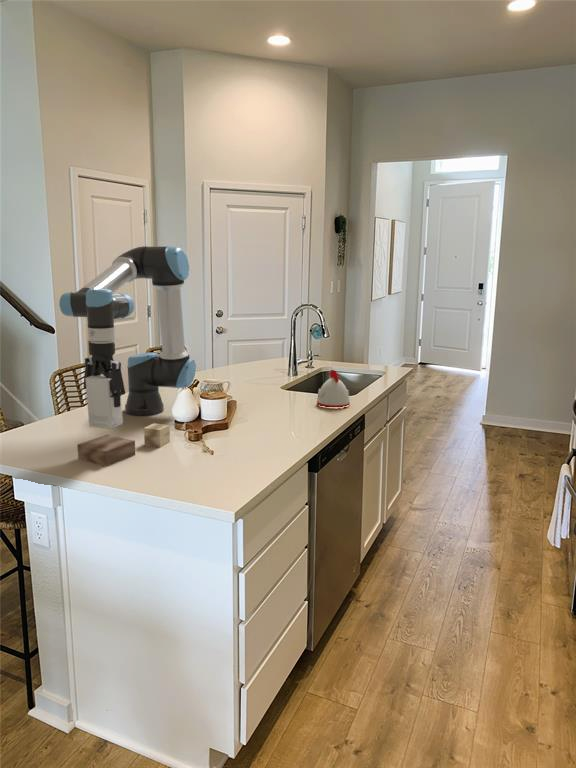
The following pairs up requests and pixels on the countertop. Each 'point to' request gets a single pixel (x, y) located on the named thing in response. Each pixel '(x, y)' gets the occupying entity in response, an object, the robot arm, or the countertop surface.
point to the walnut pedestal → (106, 450)
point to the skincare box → (101, 403)
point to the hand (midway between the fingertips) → (105, 414)
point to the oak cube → (156, 435)
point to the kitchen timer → (333, 392)
